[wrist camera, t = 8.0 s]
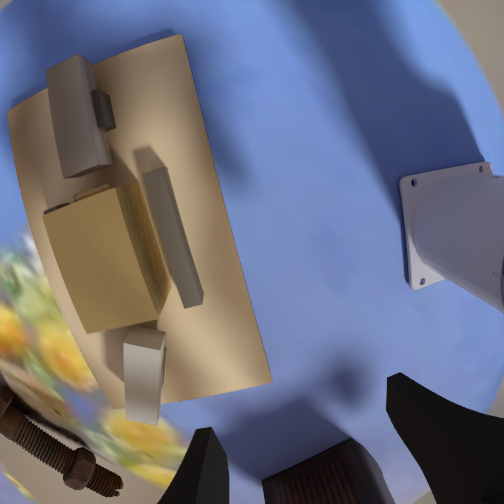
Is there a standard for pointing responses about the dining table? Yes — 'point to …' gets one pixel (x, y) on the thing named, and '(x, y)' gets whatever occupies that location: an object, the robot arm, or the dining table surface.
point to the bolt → (56, 451)
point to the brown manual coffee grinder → (330, 479)
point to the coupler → (109, 257)
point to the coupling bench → (161, 215)
